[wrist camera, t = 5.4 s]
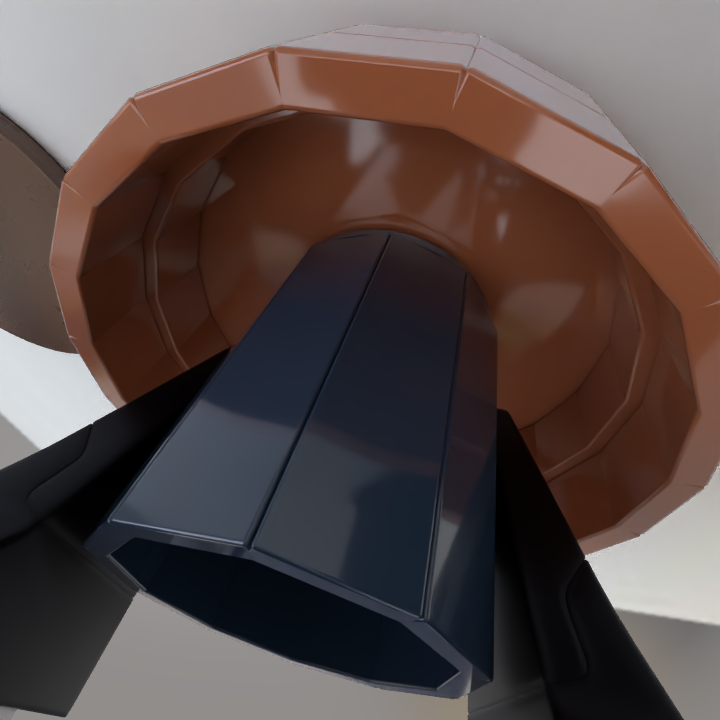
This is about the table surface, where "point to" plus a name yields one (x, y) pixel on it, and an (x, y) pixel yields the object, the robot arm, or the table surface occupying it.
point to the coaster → (29, 241)
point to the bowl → (420, 219)
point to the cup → (336, 476)
